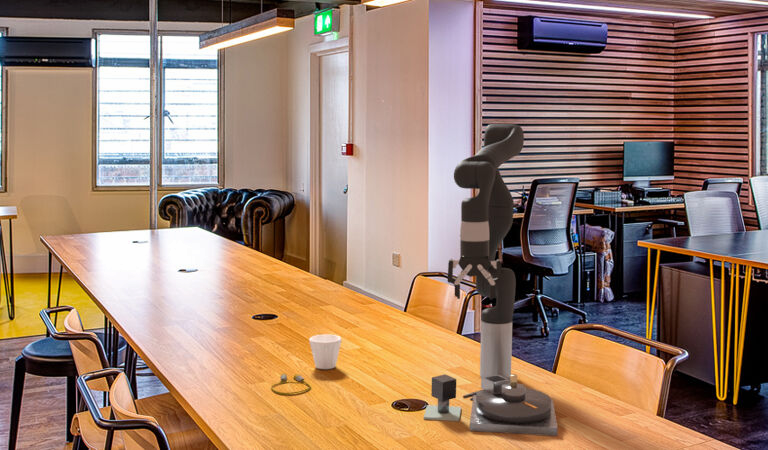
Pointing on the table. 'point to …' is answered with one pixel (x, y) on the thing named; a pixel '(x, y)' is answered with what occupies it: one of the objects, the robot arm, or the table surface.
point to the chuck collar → (511, 401)
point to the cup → (325, 350)
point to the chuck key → (443, 391)
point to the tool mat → (433, 414)
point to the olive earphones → (296, 377)
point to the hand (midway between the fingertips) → (474, 298)
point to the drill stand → (513, 424)
